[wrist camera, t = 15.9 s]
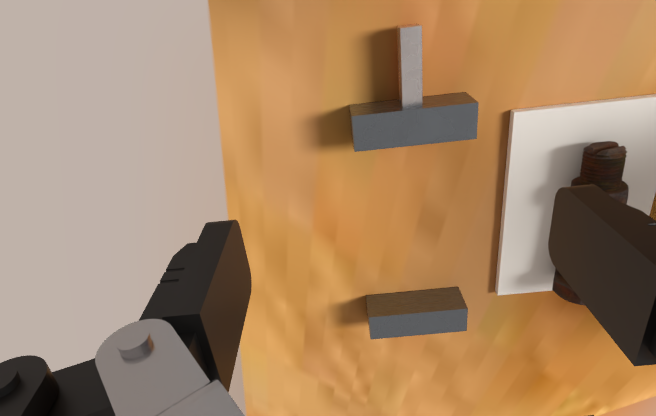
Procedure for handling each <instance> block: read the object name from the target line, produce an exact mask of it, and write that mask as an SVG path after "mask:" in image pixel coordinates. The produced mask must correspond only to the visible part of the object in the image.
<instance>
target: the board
mask: <svg viewBox="0 0 656 416" xmlns="http://www.w3.org/2000/svg"><path fill="white" fill-rule="evenodd" d="M605 141H613V142H617V143H618V145H619V146H624V147H625V148H626V149H625V150H626V151H627V153H626V158H625V159H626V161H625V166H624V169H623V170H624V172H623V176H622V181H624V182H625V183H626V184H627V185H628V187H629V192H628V200H627V205H629V206H631V207H634V208H636V209H639V210H641V211H643V212H644V213H645V214H647V215H648V216H649V215H650V212H651V208H652V204H653V200H654V197H655V193H656V94H652V95H642V96H633V97H624V98H615V99H606V100H597V101H587V102H578V103H569V104H560V105H551V106H541V107H532V108H523V109H514V110H511V113H510V125H509V136H508V148H507V159H506V170H505V182H504V193H503V205H502V216H501V228H500V239H499V251H498V262H497V273H496V285H495V292H496V293H497V295H508V294H519V293H530V292H541V291H552V287H553V279H554V274H555V269H556V268H555V266H554V265H553V263H552V261H551V258H550V255H549V249H548V241H549V234H550V227H551V220H552V214H553V207H554V200H555V195H556V193H557V191H558V190H559V189H560V188H562V187H571V181H572V180H573V179H575V178H577V177H580V172H581V171H580V170H581V165H582V163H581V162H582V158H583V156H582V155H583V151H584V148H585V147H587V146H589V145H590V144H592V143H595V142H605Z"/></svg>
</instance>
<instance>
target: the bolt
mask: <svg viewBox="0 0 656 416" xmlns="http://www.w3.org/2000/svg"><path fill="white" fill-rule="evenodd" d="M625 149H626V148H625V147H624V146H619V145H618V143H617V142H613V141H605V142H595V143H592V144H590V145H589V146H587V147H585V148H584V151H583V155H582V156H583V158H582V162H581V163H582V165H581V170H580V171H581V172H580V177H577V178H575V179H573V180H572V181H571V186H581V185H590V184H594V185H596V186H598V187H599V188H601V189H602V190H603V191H605V192H606V193H607V194H608V195H610V196H611V197H612V198H614V199H615V200H616V201H618V202H622V203H624V204H626V205H627V200H628V192H629V187H628V185H627V184H626V183H625V182H624V181H622V176H623V172H624V170H623V169H624V166H625V161H626V159H625V158H626V153H627V151H626V150H625ZM552 290H553V291H554V292H555V293H556V294H558V295H559V296H560V297H561V298H563V299H565V300H567V301H569V302H572V303H576V304H580V305H585V304H584V303H583V301H582V300H581V299H580V298H579V296H578V295H577V294H576V293H575V291H574V290H573V289H572V288H571V286H570V285H569V284H568V283H567V281H566V280H565V279H564V278H563V276H562V275H561V274H560V273H559V271H558V270H557V269H555V274H554V279H553V287H552Z"/></svg>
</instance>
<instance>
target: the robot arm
mask: <svg viewBox="0 0 656 416" xmlns="http://www.w3.org/2000/svg"><path fill="white" fill-rule="evenodd" d="M548 249H549V255H550V258H551V261H552V263H553V265H554V266H555V268H556V269H557V270H558V271H559V273H560V274H561V275H562V276H563V278H564V279H565V280H566V281H567V283H568V284H569V285H570V286H571V288H572V289H573V290H574V291H575V293H576V294H577V295H578V296H579V298H580V299H581V300H582V301H583V303H584V304H585V305H586V306H587V308H588V309H589V310H590V311H591V313H592V314H593V315H594V316H595V318H596V319H597V320H598V321H599V323H600V324H601V325H602V326H603V328H604V329H605V330H606V331H607V333H608V334H609V335H610V336H611V338H612V339H613V340H614V341H615V343H616V344H617V345H618V346H619V348H620V349H621V350H622V351H623V353H624V354H625V355H626V356H627V358H628V359H629V360H630V361H631V363H632V364H633V365H634V366H642V365H654V364H656V221H655V220H654V219H652V218H651V217H650V216H648V215H647V214H645V213H644V212H643V211H641V210H639V209H636V208H634V207H631V206H629V205H626V204H624V203H622V202H618V201H616V200H615V199H614V198H612V197H611V196H610V195H608V194H607V193H606V192H605V191H603V190H602V189H601V188H599V187H598V186H596V185H594V184H590V185H581V186H571V187H562V188H560V189H559V190H558V191H557V193H556V195H555V200H554V207H553V214H552V220H551V227H550V234H549V241H548ZM250 295H251V273H250V268H249V263H248V259H247V255H246V251H245V246H244V242H243V238H242V234H241V229H240V226H239V223H238V221H237V220H228V221H218V222H208V223H206V224H205V226H204V228H203V230H202V233H201V235H200V237H199V239H198V241H197V243H189V244H187V245H186V246H184V247H183V248H182V249H181V250H180V251H179V252H177V253H176V254H175V255H174V256H173V258H172V260H171V261H170V263H169V265H168V267H167V269H166V272H165V273H164V274H163V276H162V278H161V280H160V284H158V286H157V288H156V289H155V291H154V293H153V295H152V297H151V299H150V301H149V303H148V305H147V306H146V308H145V310H144V312H143V314H142V316H141V318H140V319H139V321H137V322H134V323H131V324H128V325H126V326H125V327H122V328H121V329H119V330H117V331H116V332H114V333H113V334H112V335H111V336H109V337H108V338H107V339H106V340H105V341H104V342H103V343H102V345H101V346H100V348H99V349H98V351H97V354H96V357H95V358H94V359H92V360H89V361H86V362H83V363H80V364H77V365H74V366H71V367H67V368H64V369H61V370H58V371H55V372H51V371H50V369H49V367H48V365H47V364H46V362H45V361H44V359H42V358H40V357H37V356H21V357H16V358H13V359H9V360H7V361H4V362H2V363H0V416H244V414H243V413H242V412H241V410H240V409H239V407H238V406H237V404H236V403H235V402H234V400H233V399H232V398H231V396H230V395H229V393H228V392H229V387H230V383H231V379H232V374H233V370H234V365H235V361H236V357H237V352H238V348H239V343H240V339H241V335H242V330H243V326H244V321H245V317H246V312H247V308H248V304H249V299H250ZM590 416H594V415H590Z"/></svg>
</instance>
